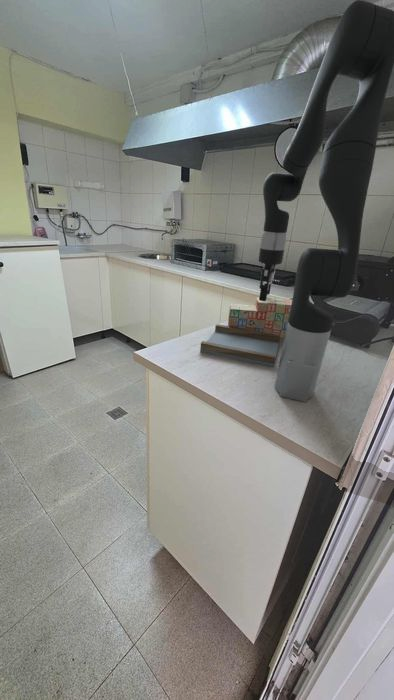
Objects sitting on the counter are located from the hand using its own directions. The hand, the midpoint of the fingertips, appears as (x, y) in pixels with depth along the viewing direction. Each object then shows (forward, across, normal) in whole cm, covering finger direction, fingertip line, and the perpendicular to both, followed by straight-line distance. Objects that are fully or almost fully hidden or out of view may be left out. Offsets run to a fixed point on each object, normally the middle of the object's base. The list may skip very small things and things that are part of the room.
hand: (264, 297), depth 97 cm
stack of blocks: (+13, -1, 0) cm, 13 cm away
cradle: (+13, -15, +3) cm, 20 cm away
